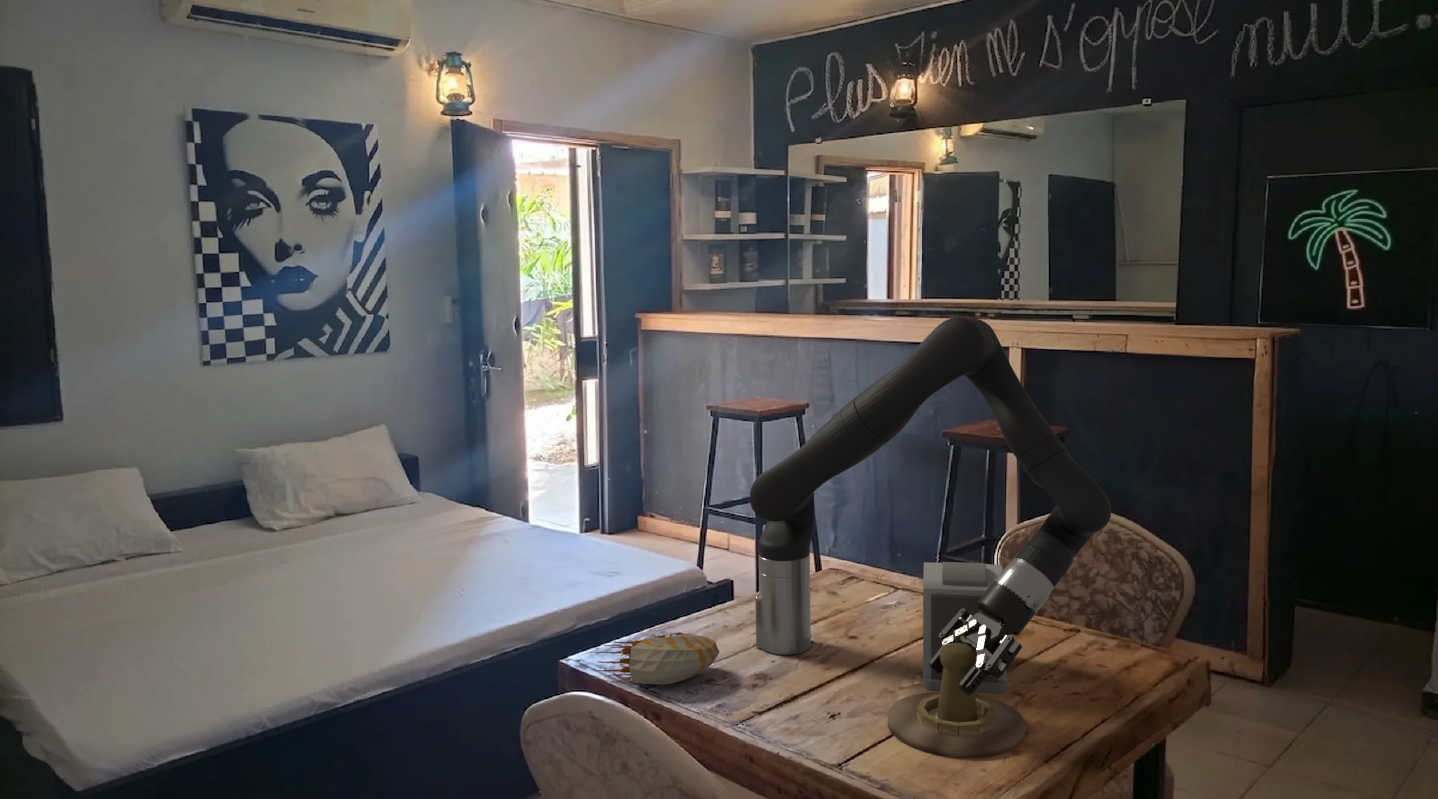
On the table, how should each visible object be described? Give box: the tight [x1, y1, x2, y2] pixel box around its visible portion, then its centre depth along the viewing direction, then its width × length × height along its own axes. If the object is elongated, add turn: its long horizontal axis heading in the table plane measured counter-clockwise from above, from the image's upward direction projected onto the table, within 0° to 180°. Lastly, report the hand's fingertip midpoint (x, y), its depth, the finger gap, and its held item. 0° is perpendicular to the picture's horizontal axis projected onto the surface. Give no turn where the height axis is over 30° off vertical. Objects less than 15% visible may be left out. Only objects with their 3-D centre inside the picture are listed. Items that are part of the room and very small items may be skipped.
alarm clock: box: [922, 561, 1008, 695], centre depth 174 cm, size 18×13×18 cm
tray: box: [887, 690, 1027, 759], centre depth 154 cm, size 20×20×3 cm
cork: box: [937, 643, 978, 723], centre depth 154 cm, size 6×6×11 cm
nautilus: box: [593, 631, 720, 686], centre depth 175 cm, size 8×22×15 cm
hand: (948, 680), depth 153 cm, fingers open, 8 cm apart
